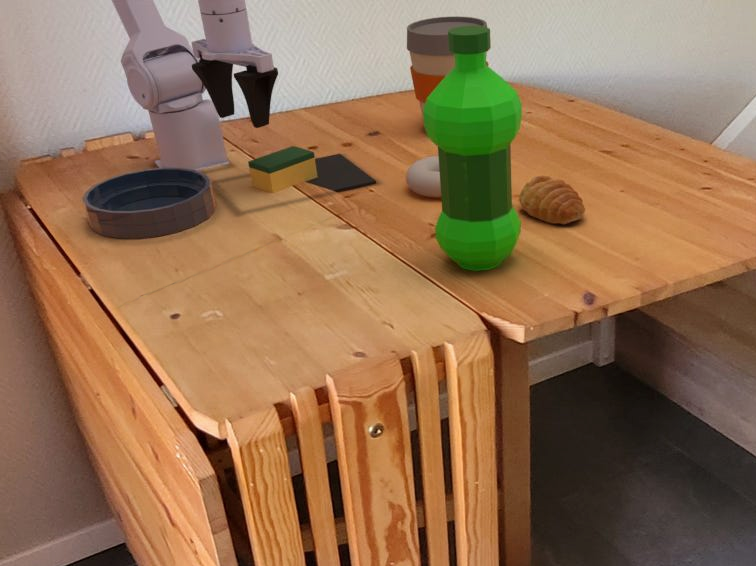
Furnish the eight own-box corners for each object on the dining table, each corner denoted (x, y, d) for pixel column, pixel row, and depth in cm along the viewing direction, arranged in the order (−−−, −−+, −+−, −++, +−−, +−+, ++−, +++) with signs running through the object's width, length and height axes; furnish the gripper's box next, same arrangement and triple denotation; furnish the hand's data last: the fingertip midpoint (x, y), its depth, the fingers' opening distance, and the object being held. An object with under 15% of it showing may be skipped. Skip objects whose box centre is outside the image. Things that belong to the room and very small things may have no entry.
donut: (395, 185, 135) (425, 206, 128) (393, 160, 133) (423, 180, 125) (459, 171, 138) (492, 191, 131) (457, 147, 136) (491, 165, 129)
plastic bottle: (463, 238, 119) (450, 16, 104) (539, 253, 115) (537, 23, 99) (418, 269, 112) (398, 37, 97) (497, 286, 108) (489, 46, 92)
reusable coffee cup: (445, 112, 161) (439, 13, 151) (507, 122, 155) (505, 20, 145) (397, 133, 153) (387, 30, 144) (460, 145, 147) (455, 39, 138)
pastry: (598, 219, 122) (599, 189, 119) (554, 232, 119) (554, 202, 117) (555, 197, 128) (555, 168, 126) (513, 209, 126) (512, 180, 123)
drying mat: (340, 156, 145) (339, 153, 145) (376, 183, 135) (376, 180, 135) (210, 183, 138) (209, 180, 138) (238, 214, 129) (237, 211, 128)
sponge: (297, 170, 140) (293, 145, 138) (317, 177, 137) (313, 151, 135) (252, 187, 135) (247, 161, 133) (273, 194, 133) (268, 168, 131)
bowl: (198, 187, 137) (192, 159, 135) (231, 225, 126) (224, 195, 123) (82, 212, 132) (73, 183, 129) (104, 253, 120) (95, 222, 118)
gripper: (163, 9, 123) (187, 119, 132) (232, 23, 115) (253, 138, 124) (209, -1, 127) (229, 106, 136) (278, 11, 119) (296, 124, 128)
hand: (244, 120), depth 130 cm, fingers open, 7 cm apart
